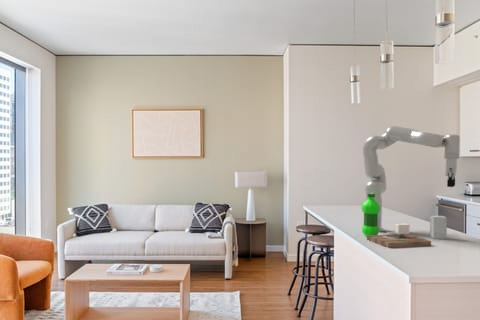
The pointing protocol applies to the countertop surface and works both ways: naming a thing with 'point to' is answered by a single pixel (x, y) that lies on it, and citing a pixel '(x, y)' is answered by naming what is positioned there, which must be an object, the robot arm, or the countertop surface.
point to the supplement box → (438, 227)
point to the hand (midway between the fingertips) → (451, 186)
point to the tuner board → (398, 240)
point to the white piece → (401, 229)
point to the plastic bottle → (370, 216)
